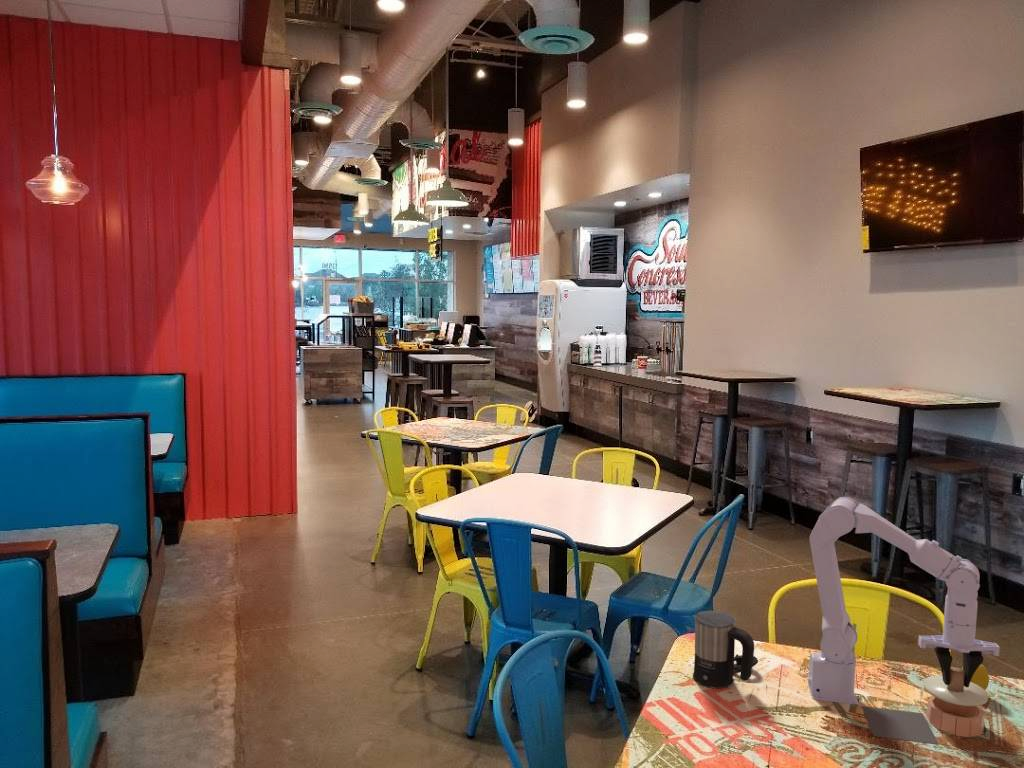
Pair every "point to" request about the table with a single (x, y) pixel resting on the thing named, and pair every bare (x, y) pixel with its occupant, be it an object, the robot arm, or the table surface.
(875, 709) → the mat
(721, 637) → the milk frother
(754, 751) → the table surface
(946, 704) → the bowl
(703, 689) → the table surface
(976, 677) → the lemon
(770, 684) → the table surface
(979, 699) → the lid
